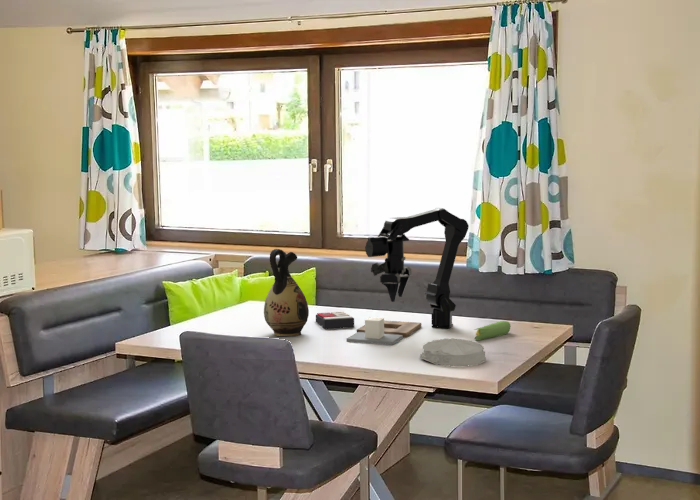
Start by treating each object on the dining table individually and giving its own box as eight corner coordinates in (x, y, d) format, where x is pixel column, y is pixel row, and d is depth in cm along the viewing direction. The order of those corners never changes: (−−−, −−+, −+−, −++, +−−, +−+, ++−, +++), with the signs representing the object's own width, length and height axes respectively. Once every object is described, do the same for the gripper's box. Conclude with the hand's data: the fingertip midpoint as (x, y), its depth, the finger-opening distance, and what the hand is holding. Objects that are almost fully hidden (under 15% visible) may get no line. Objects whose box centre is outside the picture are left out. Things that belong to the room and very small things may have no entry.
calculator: (343, 310, 324) (354, 316, 309) (344, 322, 324) (354, 328, 310) (315, 312, 321) (324, 317, 306) (315, 324, 321) (324, 329, 307)
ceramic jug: (283, 327, 310) (282, 244, 306) (317, 332, 301) (316, 247, 297) (251, 336, 296) (249, 249, 292) (286, 341, 287) (285, 252, 283)
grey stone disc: (488, 354, 270) (488, 332, 269) (484, 368, 250) (484, 345, 250) (424, 352, 274) (424, 330, 274) (415, 366, 255) (415, 343, 254)
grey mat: (402, 338, 291) (402, 335, 291) (392, 344, 281) (392, 341, 281) (357, 334, 297) (357, 331, 297) (346, 341, 287) (346, 338, 286)
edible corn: (516, 322, 296) (505, 316, 299) (477, 332, 283) (467, 326, 286) (512, 335, 298) (502, 329, 301) (473, 346, 285) (463, 340, 288)
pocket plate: (421, 326, 309) (421, 322, 309) (406, 337, 292) (406, 332, 292) (373, 323, 315) (373, 319, 315) (356, 333, 299) (356, 329, 298)
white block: (384, 335, 290) (384, 318, 290) (379, 338, 286) (379, 320, 285) (370, 334, 292) (369, 317, 291) (365, 337, 287) (364, 320, 287)
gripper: (381, 250, 309) (382, 293, 311) (364, 258, 292) (366, 303, 294) (411, 251, 306) (412, 294, 308) (396, 258, 288) (397, 304, 290)
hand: (396, 299), depth 300 cm, fingers open, 9 cm apart
